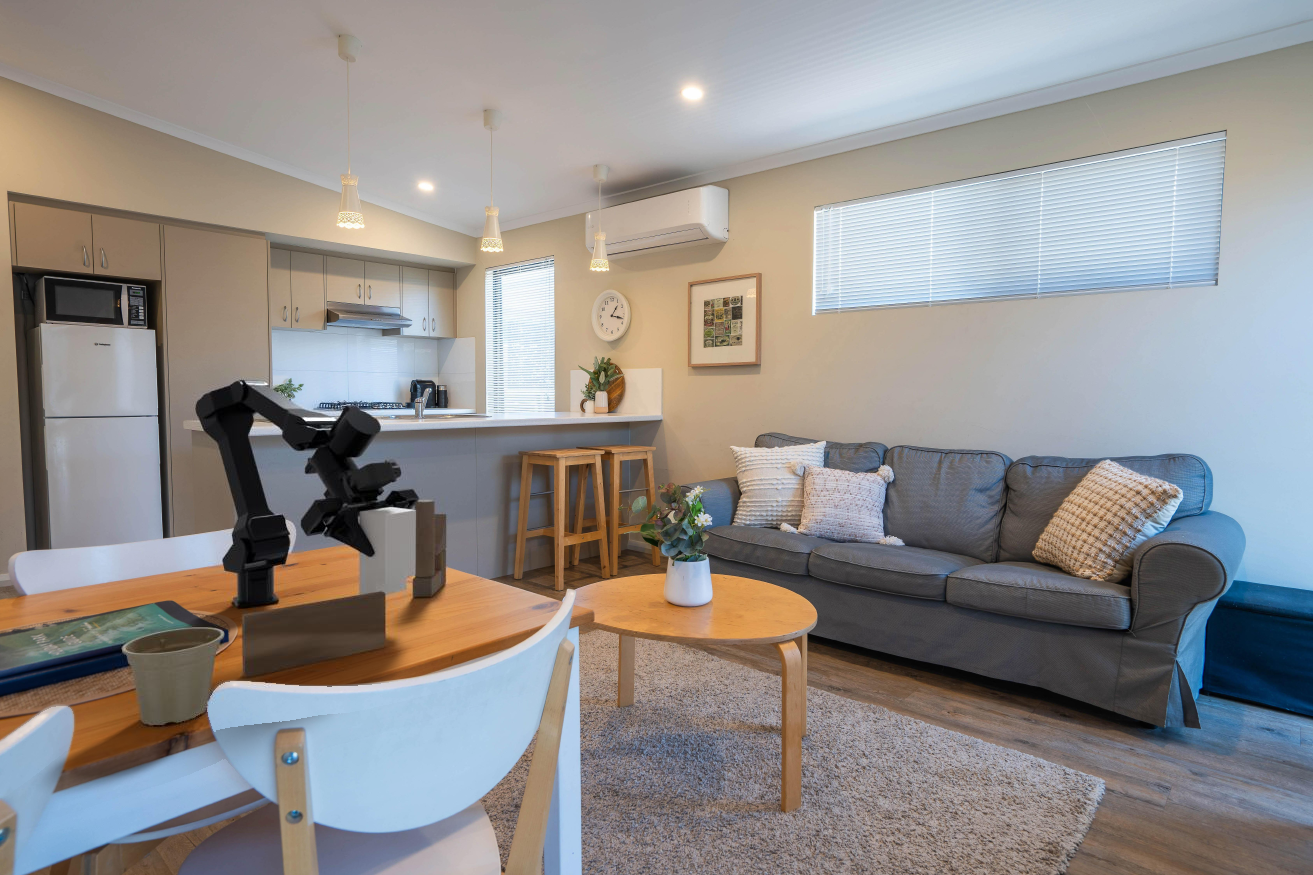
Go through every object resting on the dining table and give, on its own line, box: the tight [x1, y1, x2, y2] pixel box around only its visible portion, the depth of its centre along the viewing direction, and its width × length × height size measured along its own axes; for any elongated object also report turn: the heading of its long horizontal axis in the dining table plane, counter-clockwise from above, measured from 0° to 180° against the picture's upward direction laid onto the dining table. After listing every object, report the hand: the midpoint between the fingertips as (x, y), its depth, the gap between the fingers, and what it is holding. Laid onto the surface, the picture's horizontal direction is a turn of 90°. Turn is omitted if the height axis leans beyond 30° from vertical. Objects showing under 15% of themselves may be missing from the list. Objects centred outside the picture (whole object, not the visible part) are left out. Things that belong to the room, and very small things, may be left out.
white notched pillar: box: [358, 507, 416, 597], centre depth 106 cm, size 6×6×13 cm
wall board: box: [241, 591, 387, 679], centre depth 94 cm, size 3×18×8 cm, turn 132°
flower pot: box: [121, 626, 225, 726], centre depth 77 cm, size 9×9×9 cm
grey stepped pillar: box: [412, 498, 447, 598], centre depth 131 cm, size 4×11×18 cm, turn 3°
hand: (389, 551), depth 106 cm, fingers closed on white notched pillar, 6 cm apart
